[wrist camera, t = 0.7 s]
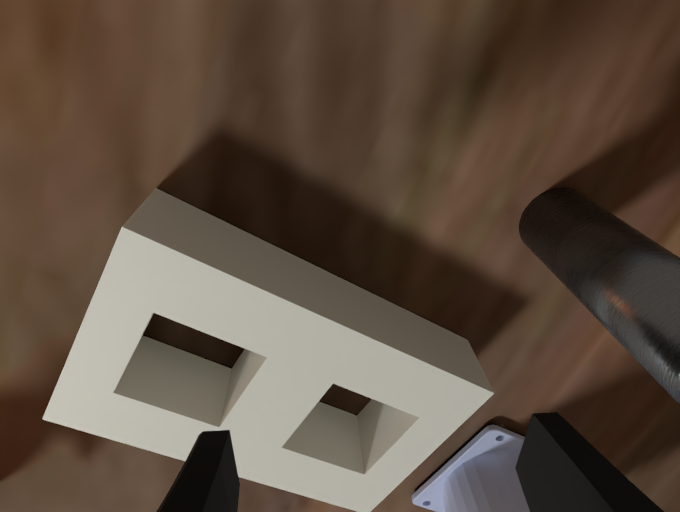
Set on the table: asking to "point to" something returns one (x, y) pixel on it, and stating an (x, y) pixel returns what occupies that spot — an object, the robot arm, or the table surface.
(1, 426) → the table surface
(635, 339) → the peg
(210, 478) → the robot arm
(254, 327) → the hole block
